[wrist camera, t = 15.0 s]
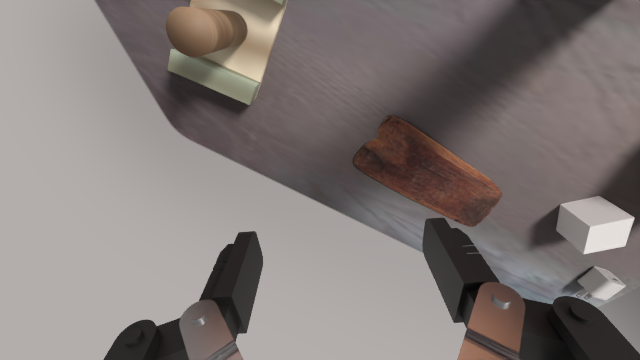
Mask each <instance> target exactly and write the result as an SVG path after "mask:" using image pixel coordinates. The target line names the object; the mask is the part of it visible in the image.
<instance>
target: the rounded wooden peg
mask: <svg viewBox="0 0 640 360" xmlns="http://www.w3.org/2000/svg"><path fill="white" fill-rule="evenodd" d="M166 30H167V35H168V37H169V40H170V42H171V43H172V45H173V46H174V47H175V48H176V49H177V50H178V51H179V52H180V53H182V54H184V55H186V56H189V57H200V56H203V55H206V54H210V53H213V52H216V51H220V50H223V49H226V48H229V47H233V46H236V45H239V44H241V43H243V42H244V40H245V39H246V37H247V32H248V29H247V24H246V22H245V20H244V18H243V17H242V16H241V15H240V14H238V13H237V12H235V11H229V10H217V9H205V8H194V7H178V8H176V9H174V10H173V11H171V13H170V14H169V16H168V18H167V21H166Z"/></svg>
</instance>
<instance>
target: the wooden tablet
mask: <svg viewBox="0 0 640 360" xmlns="http://www.w3.org/2000/svg"><path fill="white" fill-rule="evenodd" d="M354 164H355V165H356V167H358V168H359V169H361V170H362V171H363V172H365V173H366V174H368V175H369V176H371V177H372V178H374V179H376V180H377V181H379V182H381V183H383V184H384V185H386V186H388V187H389V188H391V189H393V190H395V191H397V192H398V193H401V194H402V195H404V196H406V197H408V198H410V199H412V200H414V201H416V202H418V203H420V204H422V205H424V206H426V207H428V208H430V209H432V210H434V211H436V212H438V213H440V214H442V215H444V216H446V217H448V218H450V219H454V220H455V221H457V222H459V223H461V224H464V225H467V226H472V227H473V226H476V225H477V224H478V223H480V222H481V221H482V220H483V219H484V218H485V217H486V216H487V215H488V214H489V213H490V211H491V209H492V208H493V207H494V206H495V205H496V204H497V203H498V201H499V200H500V198H501V197H502V193H501V191H500V190H499V189H498V187H497V186H496V185H495V184H494V183H493V182H492V181H491V180H490V179H489V178H487V177H486V176H485V175H483V174H482V173H480V172H479V171H477V170H476V169H474V168H473V167H471V166H470V165H468V164H467V163H465V162H464V161H462V160H461V159H460V158H458V157H457V156H455V155H454V154H453V153H451V152H450V151H448V150H447V149H445V148H444V147H443V146H441V145H440V144H438V143H437V142H435V141H434V140H432V139H431V138H429V137H428V136H426V135H425V134H423V133H422V132H421V131H419V130H418V129H416V128H415V127H413V126H412V125H410V124H409V123H407V122H406V121H404V120H402V119H400V118H398V117H395V116H392V115H391V116H387V117H386V118H385V119H384V121H383V123H382V124H381V126H380V128H379V130H378V138H377V139H373V140H371V141H369V142H367V143H366V144H365V145H364V146H363V147H362V148H361V149H360V150H359V151H358V152H357V154H356V155H355V157H354Z"/></svg>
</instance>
